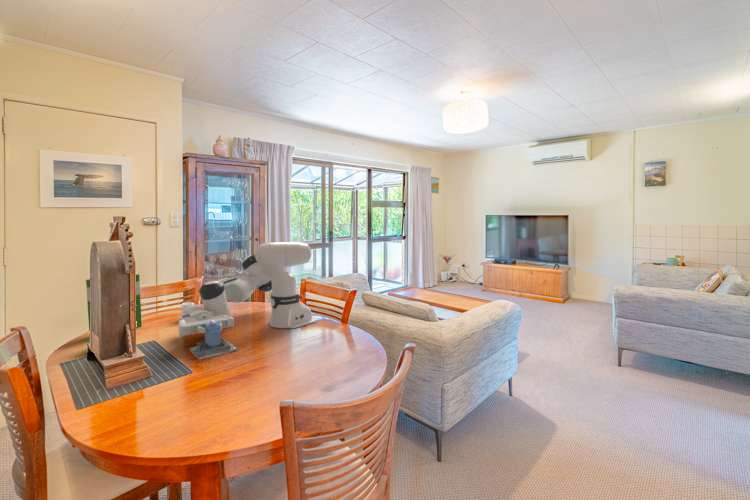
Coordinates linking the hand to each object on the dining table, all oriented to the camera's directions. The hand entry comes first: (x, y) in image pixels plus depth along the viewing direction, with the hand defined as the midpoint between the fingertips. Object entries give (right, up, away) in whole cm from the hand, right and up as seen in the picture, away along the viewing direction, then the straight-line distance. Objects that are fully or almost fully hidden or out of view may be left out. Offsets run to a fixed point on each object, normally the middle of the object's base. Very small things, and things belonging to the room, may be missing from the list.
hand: (213, 329), depth 140 cm
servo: (-1, -6, +1) cm, 6 cm away
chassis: (0, -8, +2) cm, 8 cm away
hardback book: (-52, -6, +22) cm, 56 cm away
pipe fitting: (-30, -4, +41) cm, 51 cm away
